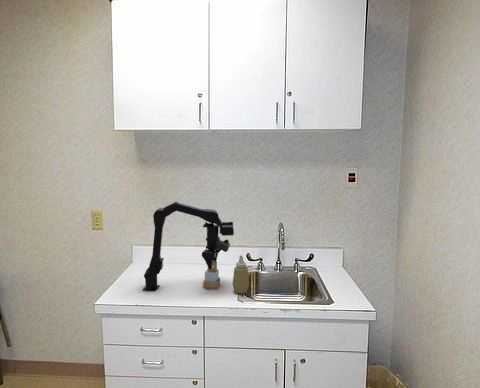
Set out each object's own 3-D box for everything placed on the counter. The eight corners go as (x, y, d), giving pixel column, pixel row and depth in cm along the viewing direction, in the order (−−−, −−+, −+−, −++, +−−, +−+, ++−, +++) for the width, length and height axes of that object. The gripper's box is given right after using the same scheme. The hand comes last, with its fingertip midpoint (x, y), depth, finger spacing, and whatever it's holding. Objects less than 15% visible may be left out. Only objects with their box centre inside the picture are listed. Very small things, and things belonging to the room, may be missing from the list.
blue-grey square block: (215, 281, 179) (215, 272, 178) (204, 280, 180) (204, 271, 179) (218, 277, 184) (218, 269, 183) (208, 276, 185) (208, 268, 185)
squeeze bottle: (236, 296, 171) (236, 259, 168) (230, 290, 178) (230, 254, 176) (251, 293, 174) (252, 257, 171) (245, 287, 181) (245, 252, 179)
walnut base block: (217, 290, 178) (217, 282, 178) (203, 289, 179) (203, 281, 179) (220, 285, 185) (220, 277, 185) (206, 284, 186) (206, 276, 186)
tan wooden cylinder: (215, 272, 178) (215, 263, 178) (206, 272, 179) (206, 263, 179) (217, 269, 183) (217, 261, 182) (209, 269, 184) (209, 260, 183)
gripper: (224, 241, 168) (224, 273, 170) (232, 232, 187) (231, 261, 189) (201, 240, 170) (201, 272, 172) (211, 231, 189) (211, 260, 190)
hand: (212, 266), depth 181 cm, fingers open, 9 cm apart
